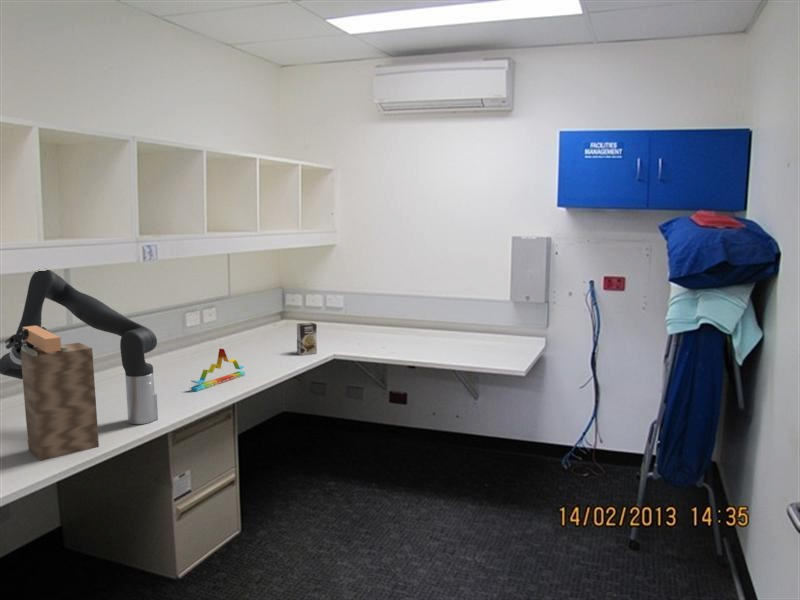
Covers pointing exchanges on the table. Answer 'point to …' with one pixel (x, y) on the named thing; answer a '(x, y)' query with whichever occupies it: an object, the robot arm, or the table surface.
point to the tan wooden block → (43, 339)
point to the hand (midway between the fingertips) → (35, 330)
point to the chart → (221, 379)
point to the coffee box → (306, 338)
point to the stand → (59, 400)
